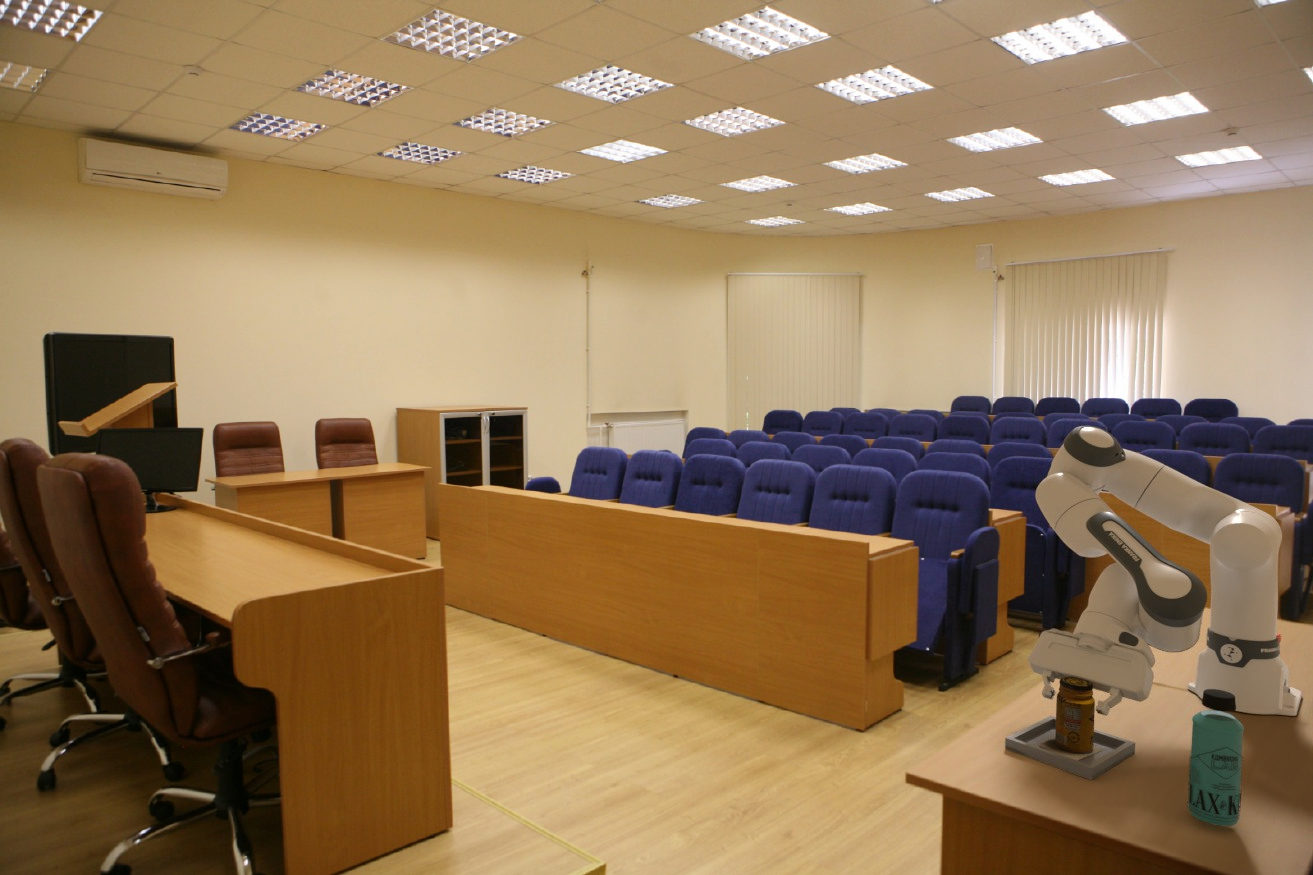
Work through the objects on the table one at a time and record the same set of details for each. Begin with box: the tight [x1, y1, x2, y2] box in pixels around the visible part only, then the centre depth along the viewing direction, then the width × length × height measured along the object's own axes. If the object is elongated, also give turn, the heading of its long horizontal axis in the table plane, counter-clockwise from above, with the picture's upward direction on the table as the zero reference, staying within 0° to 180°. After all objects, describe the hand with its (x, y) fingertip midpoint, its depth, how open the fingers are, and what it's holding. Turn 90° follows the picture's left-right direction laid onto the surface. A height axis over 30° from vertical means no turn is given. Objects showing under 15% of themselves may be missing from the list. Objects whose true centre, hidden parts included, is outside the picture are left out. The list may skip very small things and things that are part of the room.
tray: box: [1004, 715, 1136, 781], centre depth 147 cm, size 16×15×2 cm
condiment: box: [1038, 677, 1104, 761], centre depth 146 cm, size 7×8×12 cm
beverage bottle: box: [1186, 689, 1245, 827], centre depth 122 cm, size 6×7×20 cm
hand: (1073, 704), depth 146 cm, fingers open, 8 cm apart
